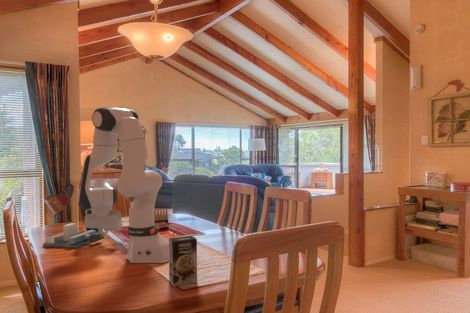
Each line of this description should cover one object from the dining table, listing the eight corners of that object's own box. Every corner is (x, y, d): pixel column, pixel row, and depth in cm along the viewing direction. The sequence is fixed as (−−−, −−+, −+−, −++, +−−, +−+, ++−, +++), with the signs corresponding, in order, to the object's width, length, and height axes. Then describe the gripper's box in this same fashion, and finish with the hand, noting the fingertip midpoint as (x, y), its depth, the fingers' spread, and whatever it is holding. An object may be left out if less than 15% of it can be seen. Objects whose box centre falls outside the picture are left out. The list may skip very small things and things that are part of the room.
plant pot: (97, 227, 228) (97, 201, 227) (112, 229, 219) (111, 203, 218) (75, 231, 215) (74, 205, 215) (89, 234, 207) (88, 207, 206)
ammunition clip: (151, 229, 218) (151, 210, 217) (150, 229, 219) (150, 209, 219) (168, 227, 222) (168, 208, 222) (167, 227, 224) (167, 208, 224)
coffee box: (173, 287, 127) (172, 241, 126) (169, 281, 133) (168, 237, 132) (198, 282, 130) (197, 238, 130) (192, 277, 136) (192, 234, 136)
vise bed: (101, 238, 198) (101, 230, 198) (77, 248, 178) (76, 239, 178) (70, 236, 203) (69, 228, 202) (43, 246, 183) (42, 237, 183)
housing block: (77, 238, 193) (76, 223, 193) (69, 241, 187) (68, 225, 187) (71, 237, 194) (71, 223, 194) (63, 240, 188) (63, 225, 188)
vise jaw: (109, 236, 195) (109, 229, 195) (88, 245, 178) (88, 238, 178) (91, 235, 198) (91, 229, 198) (68, 243, 181) (68, 237, 180)
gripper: (124, 210, 186) (124, 236, 187) (90, 208, 191) (90, 234, 192) (117, 212, 180) (118, 239, 180) (82, 210, 185) (82, 237, 186)
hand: (103, 237), depth 186 cm, fingers closed
